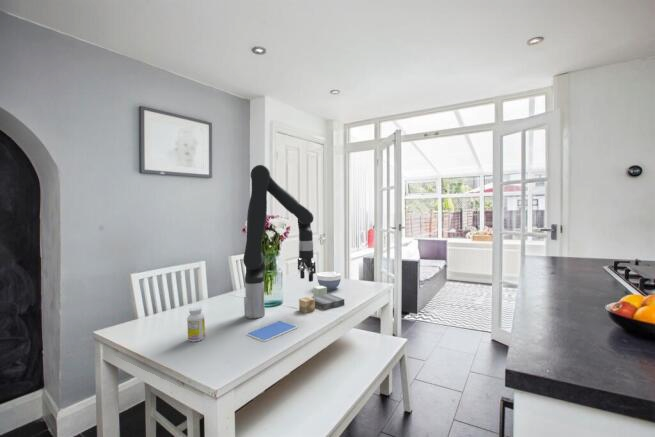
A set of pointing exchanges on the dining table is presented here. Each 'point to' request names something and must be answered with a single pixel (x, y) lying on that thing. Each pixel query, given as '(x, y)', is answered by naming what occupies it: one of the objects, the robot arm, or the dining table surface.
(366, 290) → the dining table surface
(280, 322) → the tablet computer
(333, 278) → the bowl
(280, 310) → the dining table surface
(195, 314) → the supplement bottle
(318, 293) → the sage block
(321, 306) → the slate base
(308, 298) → the oak block
